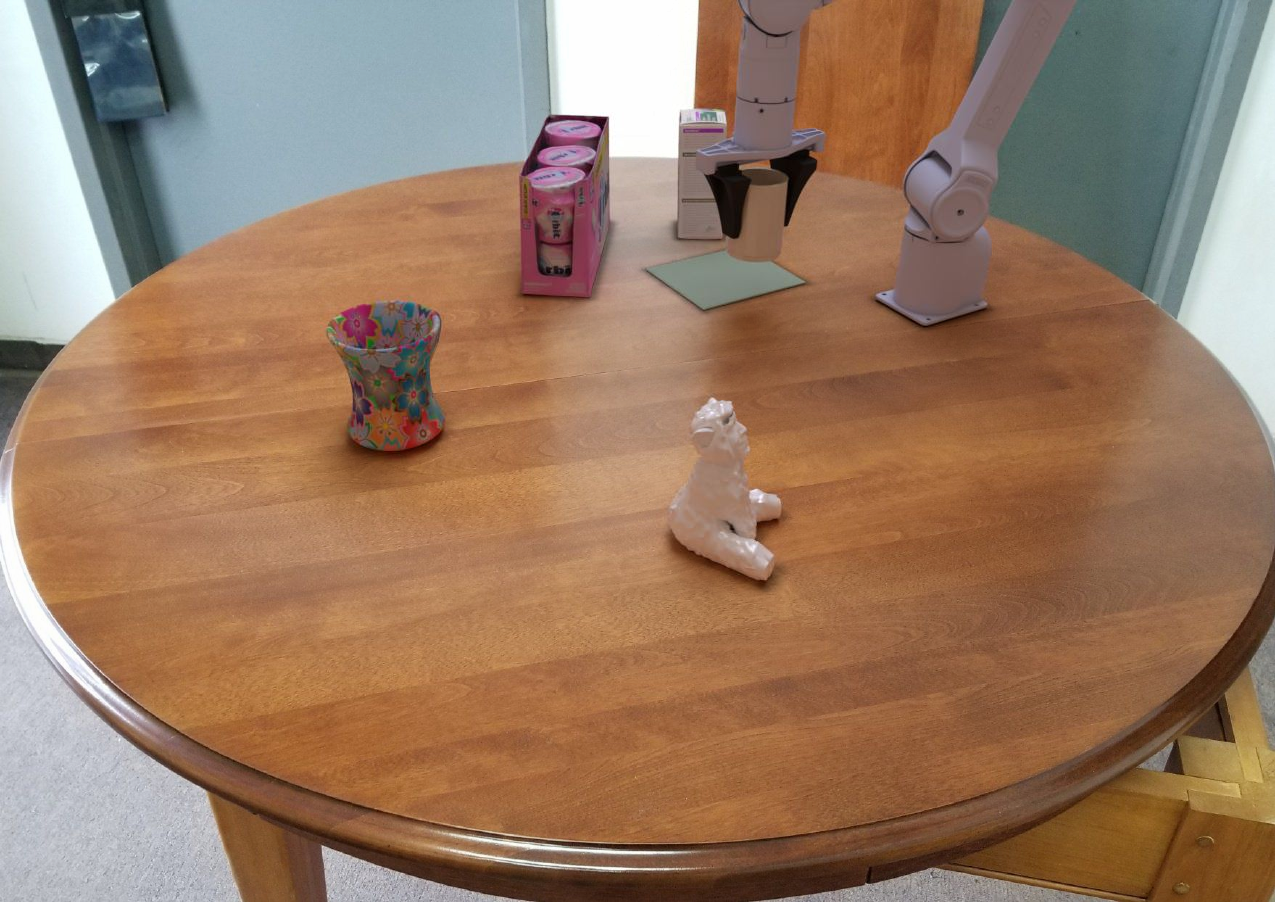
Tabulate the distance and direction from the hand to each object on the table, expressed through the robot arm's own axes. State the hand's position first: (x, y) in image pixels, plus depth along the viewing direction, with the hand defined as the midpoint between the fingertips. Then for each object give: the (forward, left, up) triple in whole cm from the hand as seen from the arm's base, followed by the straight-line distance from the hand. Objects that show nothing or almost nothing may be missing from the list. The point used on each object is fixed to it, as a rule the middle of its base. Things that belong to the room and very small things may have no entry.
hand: (755, 229), depth 111 cm
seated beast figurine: (+25, +31, -10) cm, 41 cm away
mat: (-3, -9, -9) cm, 13 cm away
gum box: (+10, -23, -10) cm, 27 cm away
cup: (0, 0, -2) cm, 2 cm away
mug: (+40, +3, -10) cm, 42 cm away
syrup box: (-8, -22, -10) cm, 25 cm away
